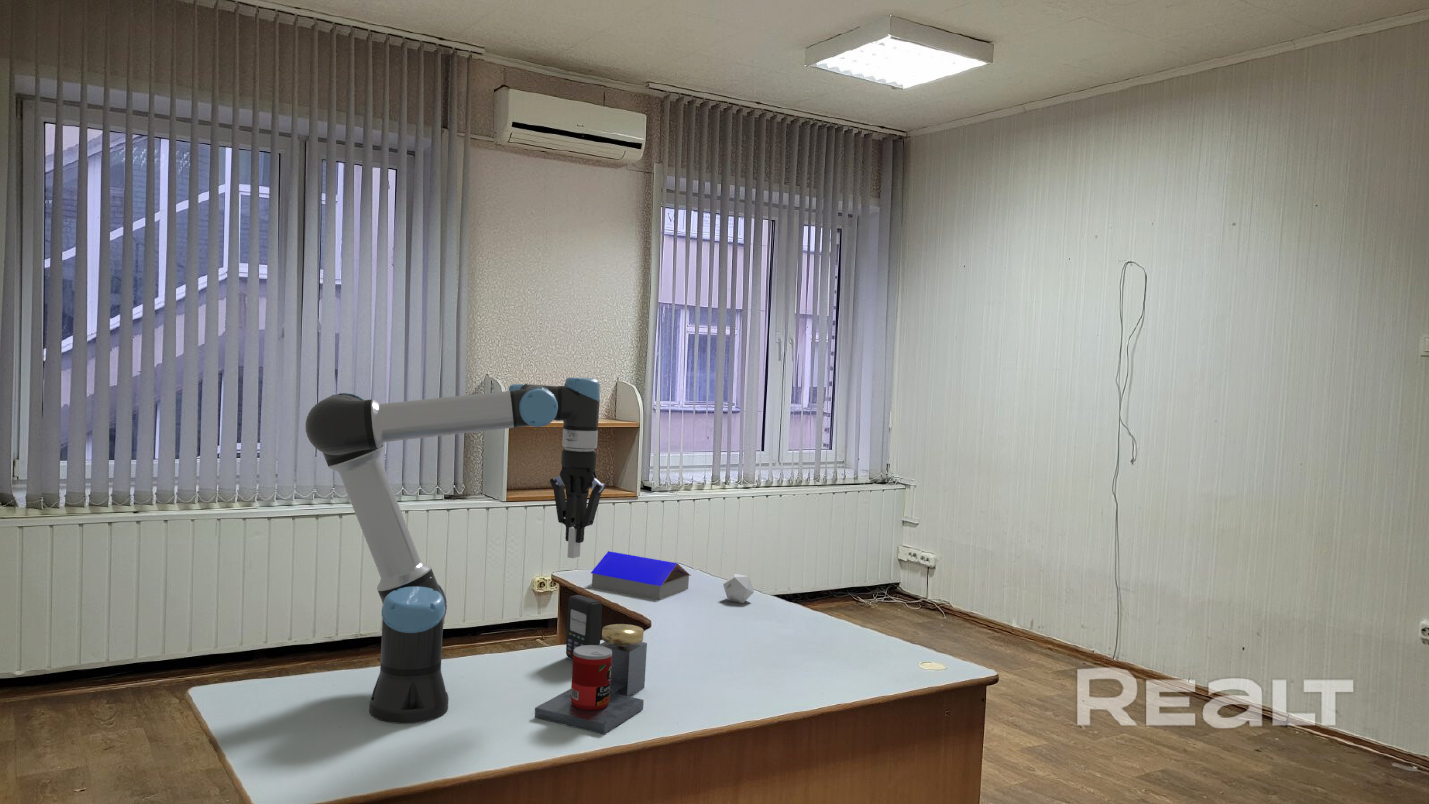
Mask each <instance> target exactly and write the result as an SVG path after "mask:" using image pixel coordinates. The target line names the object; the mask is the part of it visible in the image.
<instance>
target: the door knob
mask: <svg viewBox="0 0 1429 804" xmlns="http://www.w3.org/2000/svg"><path fill="white" fill-rule="evenodd" d="M644 631H645V630H644V629H643V627H641V626H638V625H633V624H627V623H626V624H625V623H615V624H609V625H605V626H603V627H601V640H602V641H603V642H607V643H611V644H616V645H618V646H622V647H626V646H627V645H633V644H638V643H641V642H644Z"/></svg>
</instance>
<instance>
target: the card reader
mask: <svg viewBox="0 0 1429 804" xmlns="http://www.w3.org/2000/svg"><path fill="white" fill-rule="evenodd" d="M602 612H603V604H602V603H601V601H599V600H596V599H594V598H590V597H587V596H585V595H582V594H575V595H571V596H569V598H568V603H567V623H566V641H565V642H566V643H565V644H566V646H565V649H566V650H565V655H566V656H567V658H568V659H570V660H572V661H573V651H574V649H575V648H576V647H579V646H584V645H599V644H601V637H602V617H603V616H602V615H603V613H602Z"/></svg>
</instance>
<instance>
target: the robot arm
mask: <svg viewBox="0 0 1429 804" xmlns="http://www.w3.org/2000/svg"><path fill="white" fill-rule="evenodd" d="M600 386H601V385H600V382H599V381H598V380H597V379H595V378H593V377H592V378H589V377H570V376H569V377H567V378H566V379H565V382H564V385H547V384H546V385H544V384H528V383H513V384H511V385H509V387H508V390H504V391H497V392H485V393H476V394H475V393H474V394H468V395H467V394H465V395H456V396H455V395H453V396H447V397H436V398H435V397H434V398H426V399H425V398H424V399H414V400H406V401H398V402H396V401H395V402H385V403H379V401H377V400H375V398H374V399H364V398H362V397H361V396H359V395H356V394H353V393H347V392H340V393H337V394H332V395H330V396H327V397H325V398H324V399H322V400H320V401H319V402H317V403H316V404H314V405H313V407H311V409H310V410H309V412H308V413H307V415H306V419H305V427H304V429H305V434H306V437H307V438H308V440H309V442H310V444H311V445H312V446H313V448H315V449H317V450H318V451H319V452H321V453H322V454H323V456H324V461H325V462H326V465H327V466H328V468H329V469H331V470H333V471H336V472H338V473H339V476H340V478H341V481H342V484H343V486H344V488H345V492H346V493H347V497H348V498H349V501H350V503H351V506H352V509H353V511H354V514H355V516H356V518H357V522H358V525H359V527H360V529H361V531H362V533H363V534H362V535H363V536H364V538H365V539H364V540H365V541H366V544H367V547H368V548H369V552H370V554H371V556H372V558H373V561H374V564H375V567H376V570H377V572H378V574H379V576H380V579H379V581H378V582H379V583H378V584H377V587H376V590H377V592H378V594H379V597H380V599H381V602H382V607H381V617H382V624H381V625H382V626H381V644H380V645H381V646H380V647H381V648H380V668H379V669H380V670H379V674H378V677H377V680H376V682H375V685H374V687H373V691H372V694H371V696H370V698H369V703H368V704H369V706H368V712H369V715H370V716H372V717H373V718H374V719H376V720H379V721H383V722H387V723H388V722H389V723H396V724H413V723H421V722H427V721H430V720H434V719H437V718H439V717H441V716H443V715H444V714H446V713H447V712H448V710H449V701H450V700H449V695H448V692H447V691H446V690H447V689H446V685H445V682H444V677H443V673H442V657H443V656H442V654H443V653H442V652H443V636H444V635H443V632H444V623H445V617H446V614H447V609H448V605H447V603H448V602H447V597H446V593H445V591H444V590H443V588H442V586H441V585H440V584H439V583H438V582H437V579H436V576H435V574H434V572H433V569H432V567H431V565H429V564H427V563H424V562H422V561H421V559H420V557H419V554H418V551H417V549H416V546H415V543H414V541H413V539H412V536H411V533H410V531H409V528H408V525H407V523H406V520H405V518H404V515H403V513H402V511H401V508H400V505H399V503H398V501H397V497H396V495H395V492H394V489H393V487H392V484H391V482H390V480H389V477H388V474H387V472H386V469H385V466H384V464H383V461H382V459H381V455H382V453H383V451H384V449H385V446H384V443H389V442H390V443H391V442H398V441H399V442H400V441H404V440H405V441H406V440H407V441H408V440H414V439H415V440H416V439H424V438H425V439H426V438H433V437H441V436H443V437H444V436H451V435H460V434H462V435H463V434H467V433H468V434H470V433H477V432H488V431H495V430H496V431H497V430H504V429H512V428H513V429H514V428H526V427H534V428H541V427H546V426H548V425H549V424H551V423H552V422H554V421H556V422H558V421H559V422H560V421H561V422H563V423H562V424H563V426H562V443H561V445H562V447H563V449H562V450H561V457H560V458H561V459H560V461H561V462H560V464H561V469H560V471H559V475H558V476H556V477H553V478H550V479H549V483H550V484H551V487H552V490H553V495H554V502H555V509H556V515H557V521H558V523H559V524H563V525H564V526H565V541H566V542H567V559H570V558H571V559H576V558H578V557H579V558H580V556H581V543H584V541H585V530H586V527H589V526H593V524H594V522H595V517H596V513H597V512H598V511H597V509H598V506H599V503H600V499H601V496H602V493H603V491H604V490H605V489H606V487H607V485H606V484H605V483H603V482H600V481H599V480H598V479H597V478H598V477H597V474H596V467H597V457H598V456H597V455H598V454H597V451H596V450H595V449H597V448H598V439H599V438H598V437H599V436H598V435H599V417H600V403H601V402H600V401H601V399H600V398H601V397H600V393H601V392H600ZM590 488H591V489H592V490H591V492H589V491H590ZM589 493H590V495H589ZM588 497H589V498H588Z"/></svg>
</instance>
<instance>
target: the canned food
mask: <svg viewBox="0 0 1429 804" xmlns="http://www.w3.org/2000/svg"><path fill="white" fill-rule="evenodd" d="M571 663H572V666H571V686H570V687H571V688H570V689H571V702H572V704H573V706H575V707H577V708H580V709H585V710H598V709H602V708H605V707H606V706H607V705H608V703H609V700H610V684H611V668H612V650H611V649H609V648H607V647H603V646H597V645H584V646H579V647H576V648H575V649H574V651H573V660H572V661H571Z"/></svg>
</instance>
